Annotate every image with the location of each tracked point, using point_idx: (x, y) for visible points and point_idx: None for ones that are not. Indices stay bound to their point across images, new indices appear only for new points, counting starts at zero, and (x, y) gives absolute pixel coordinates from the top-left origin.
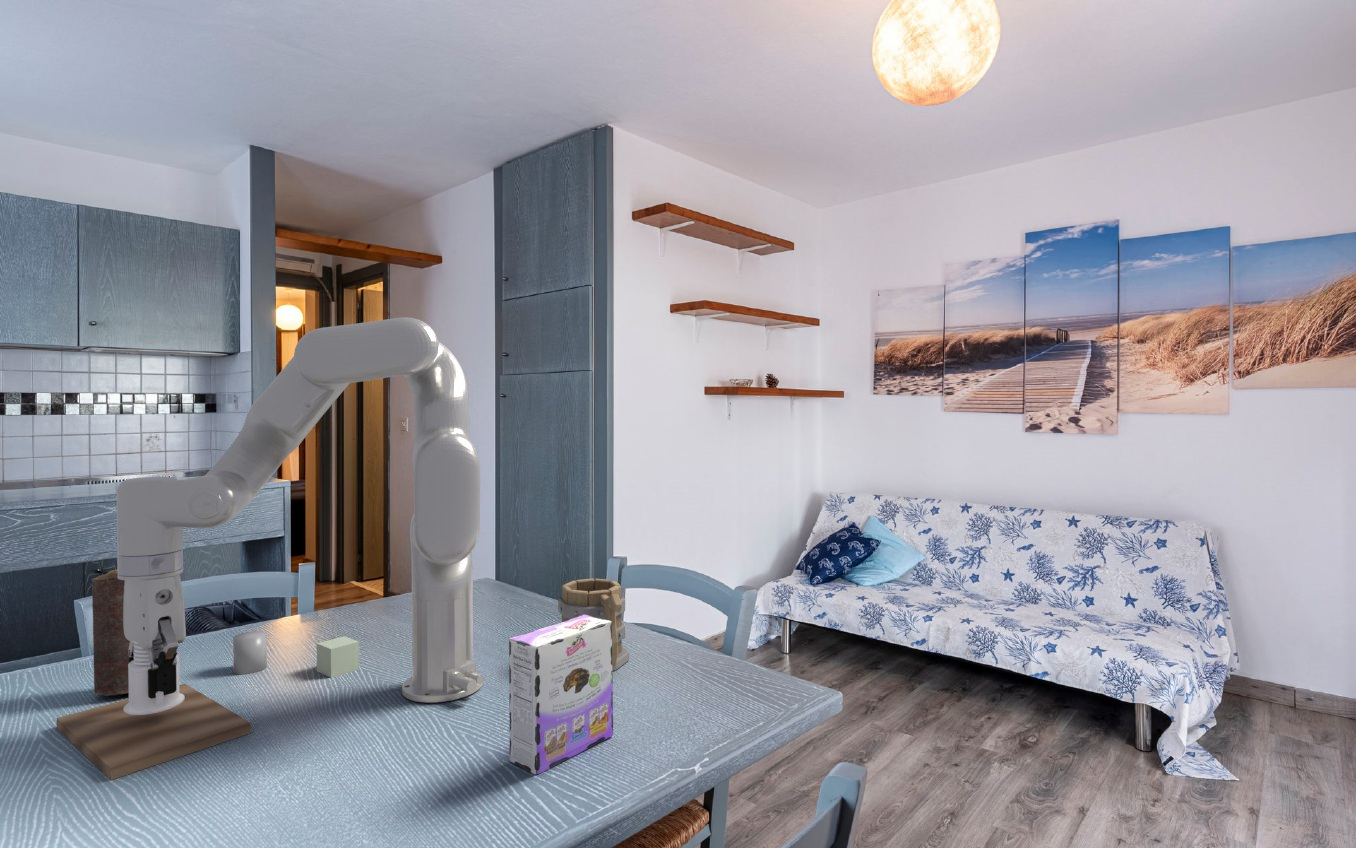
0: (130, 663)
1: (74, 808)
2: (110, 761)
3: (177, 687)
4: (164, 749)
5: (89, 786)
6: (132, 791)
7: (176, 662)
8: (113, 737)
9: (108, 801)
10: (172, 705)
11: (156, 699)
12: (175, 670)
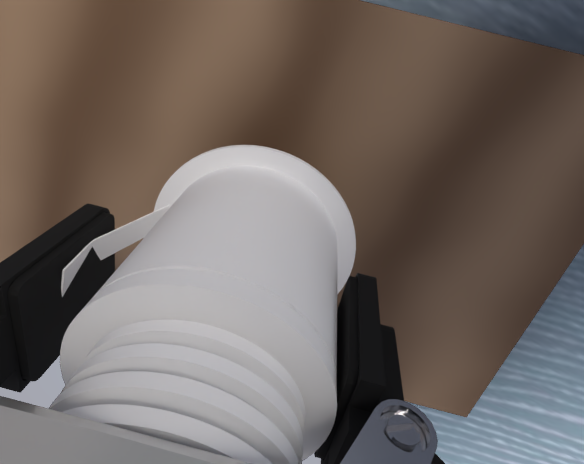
0: None
1: (498, 461)
2: (429, 400)
3: (320, 235)
4: (515, 330)
5: (436, 413)
6: (562, 408)
7: (434, 432)
8: None
9: (545, 438)
10: (346, 238)
11: None
12: (379, 354)
